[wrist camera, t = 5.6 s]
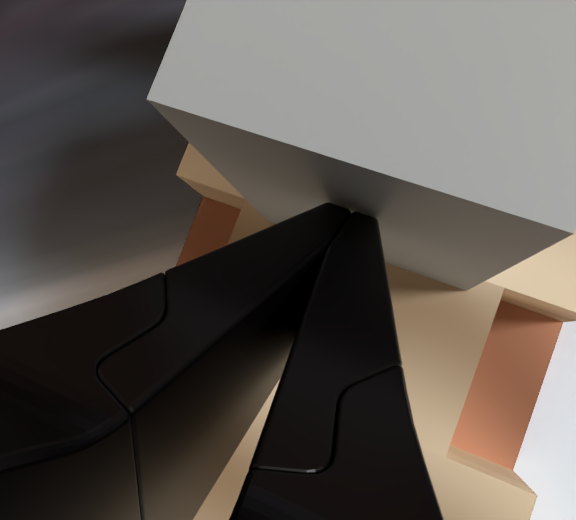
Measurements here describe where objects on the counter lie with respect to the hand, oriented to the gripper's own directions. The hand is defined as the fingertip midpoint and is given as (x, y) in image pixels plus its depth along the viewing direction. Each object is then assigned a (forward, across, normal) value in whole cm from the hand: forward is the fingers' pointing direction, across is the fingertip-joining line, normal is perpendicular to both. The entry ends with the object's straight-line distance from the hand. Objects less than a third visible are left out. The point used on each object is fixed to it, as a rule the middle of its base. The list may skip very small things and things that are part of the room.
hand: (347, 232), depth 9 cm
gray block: (+5, 0, +1) cm, 5 cm away
